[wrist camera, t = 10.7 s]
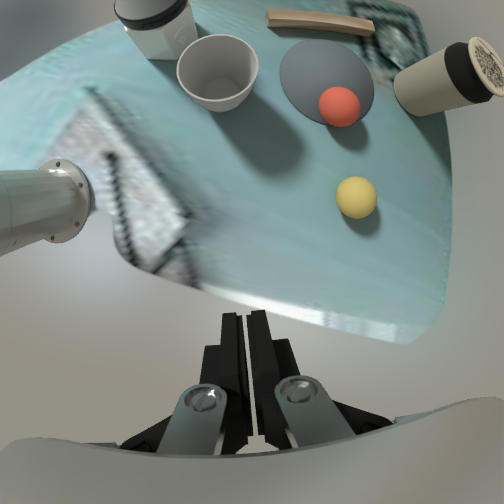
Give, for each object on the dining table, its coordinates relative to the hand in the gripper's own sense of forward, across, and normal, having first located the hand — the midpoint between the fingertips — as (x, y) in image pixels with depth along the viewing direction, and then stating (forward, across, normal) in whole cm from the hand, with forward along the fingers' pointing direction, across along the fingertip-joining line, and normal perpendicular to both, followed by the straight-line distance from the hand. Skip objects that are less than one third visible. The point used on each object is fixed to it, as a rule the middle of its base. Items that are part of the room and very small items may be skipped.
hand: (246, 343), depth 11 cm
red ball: (+24, -14, -16) cm, 32 cm away
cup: (+27, +1, -18) cm, 33 cm away
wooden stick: (+27, -14, -30) cm, 43 cm away
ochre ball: (+24, -16, -4) cm, 29 cm away
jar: (+27, +8, -29) cm, 41 cm away
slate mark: (+27, -14, -20) cm, 37 cm away
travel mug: (+27, -29, -20) cm, 44 cm away
